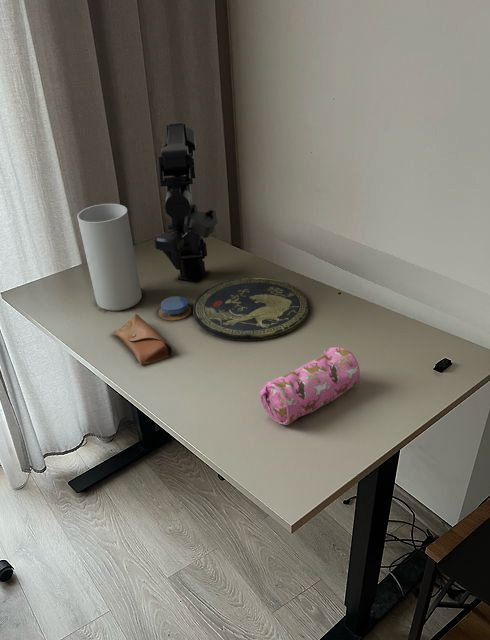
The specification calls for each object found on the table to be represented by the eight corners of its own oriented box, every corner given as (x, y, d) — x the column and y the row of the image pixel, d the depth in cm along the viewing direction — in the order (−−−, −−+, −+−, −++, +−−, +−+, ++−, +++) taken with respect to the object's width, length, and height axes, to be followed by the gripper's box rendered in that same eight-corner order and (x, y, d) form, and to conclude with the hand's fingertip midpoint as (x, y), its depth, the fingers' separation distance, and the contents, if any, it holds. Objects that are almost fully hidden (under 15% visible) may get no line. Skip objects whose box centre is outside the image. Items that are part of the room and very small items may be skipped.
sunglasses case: (109, 333, 151) (118, 309, 149) (133, 337, 156) (142, 314, 154) (141, 366, 139) (150, 340, 137) (166, 369, 143) (176, 344, 141)
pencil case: (329, 371, 133) (331, 337, 128) (362, 390, 127) (365, 355, 122) (256, 414, 123) (255, 379, 118) (287, 436, 117) (287, 400, 112)
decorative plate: (168, 314, 154) (237, 267, 172) (169, 321, 155) (237, 273, 174) (266, 349, 139) (330, 293, 157) (266, 355, 140) (329, 300, 158)
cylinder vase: (105, 289, 172) (87, 203, 157) (147, 289, 170) (132, 203, 155) (90, 311, 162) (69, 222, 147) (135, 312, 160) (118, 222, 145)
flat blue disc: (156, 315, 157) (155, 307, 156) (169, 302, 162) (168, 294, 161) (180, 319, 155) (179, 311, 153) (192, 306, 160) (191, 298, 158)
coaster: (152, 317, 157) (152, 316, 157) (168, 302, 163) (168, 300, 163) (181, 323, 154) (181, 321, 154) (196, 307, 160) (196, 305, 160)
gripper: (191, 221, 137) (197, 282, 146) (226, 192, 150) (230, 250, 159) (149, 216, 141) (158, 276, 150) (187, 188, 154) (193, 245, 163)
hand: (187, 261), depth 156 cm, fingers open, 9 cm apart
